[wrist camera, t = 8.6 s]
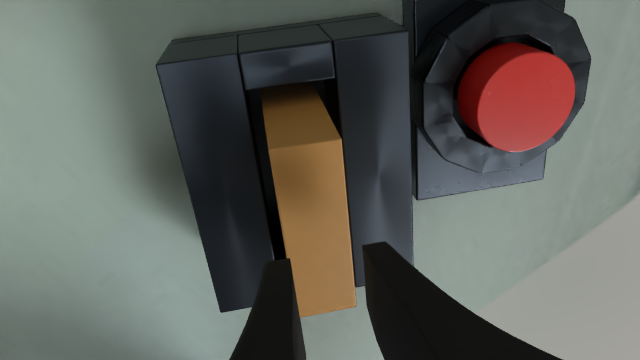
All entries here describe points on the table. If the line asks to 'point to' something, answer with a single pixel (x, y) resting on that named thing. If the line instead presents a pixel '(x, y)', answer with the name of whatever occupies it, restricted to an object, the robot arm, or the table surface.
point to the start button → (516, 96)
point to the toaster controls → (447, 71)
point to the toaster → (251, 142)
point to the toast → (310, 196)
